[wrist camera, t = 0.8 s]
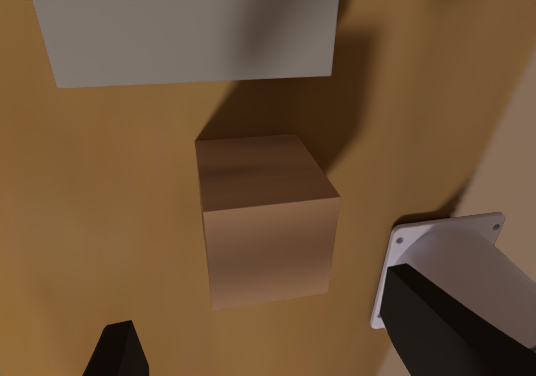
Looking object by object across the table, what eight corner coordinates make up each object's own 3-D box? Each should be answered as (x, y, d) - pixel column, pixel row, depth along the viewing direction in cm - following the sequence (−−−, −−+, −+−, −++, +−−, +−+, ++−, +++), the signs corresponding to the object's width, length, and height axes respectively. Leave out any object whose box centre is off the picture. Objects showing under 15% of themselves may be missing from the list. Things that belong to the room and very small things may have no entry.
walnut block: (291, 214, 21) (327, 292, 16) (202, 224, 20) (212, 311, 15) (295, 132, 19) (340, 196, 14) (194, 140, 18) (203, 212, 13)
